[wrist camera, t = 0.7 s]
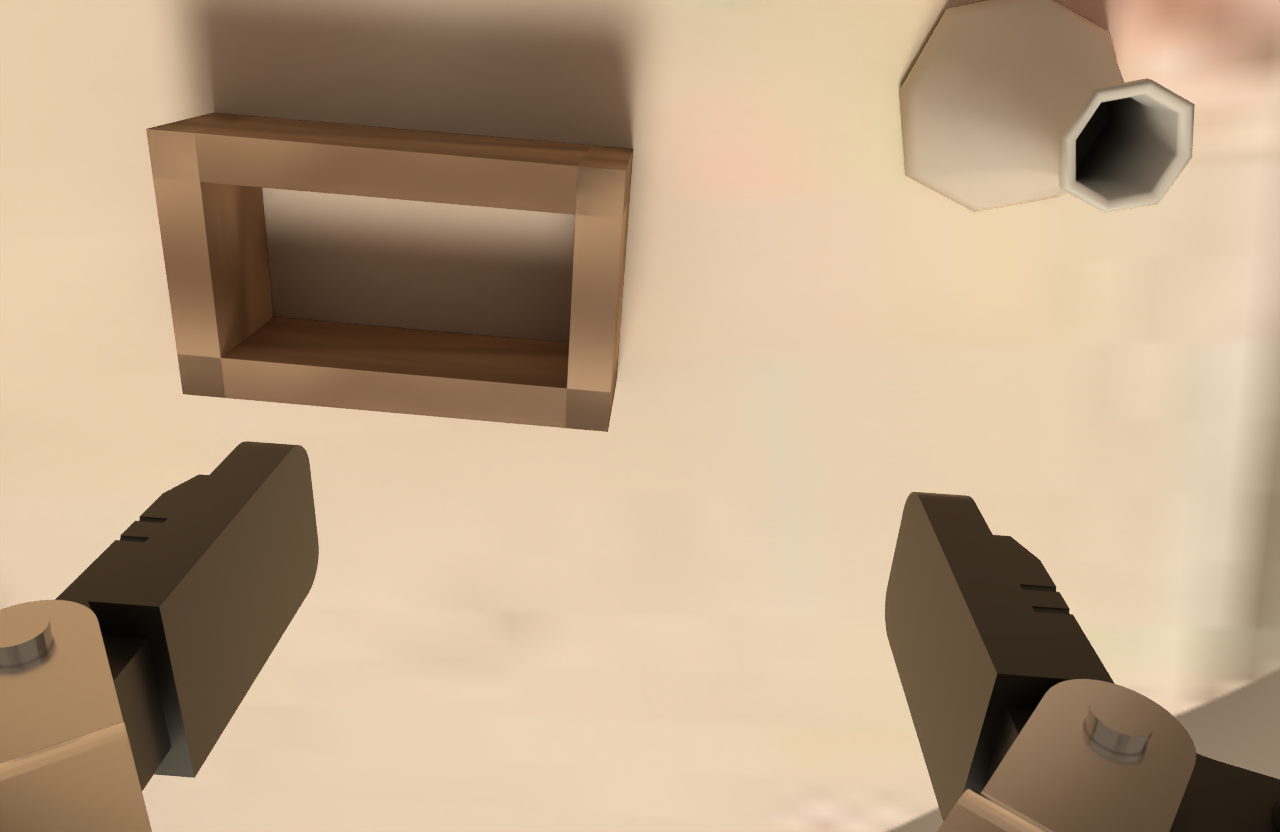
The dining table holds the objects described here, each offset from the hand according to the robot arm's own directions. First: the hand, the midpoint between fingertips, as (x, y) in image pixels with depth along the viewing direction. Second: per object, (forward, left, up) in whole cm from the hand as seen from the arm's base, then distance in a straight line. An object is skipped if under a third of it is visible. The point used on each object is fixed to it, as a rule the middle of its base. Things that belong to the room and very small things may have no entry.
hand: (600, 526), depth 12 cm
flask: (-4, +12, -23) cm, 26 cm away
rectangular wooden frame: (+3, -8, -23) cm, 25 cm away
